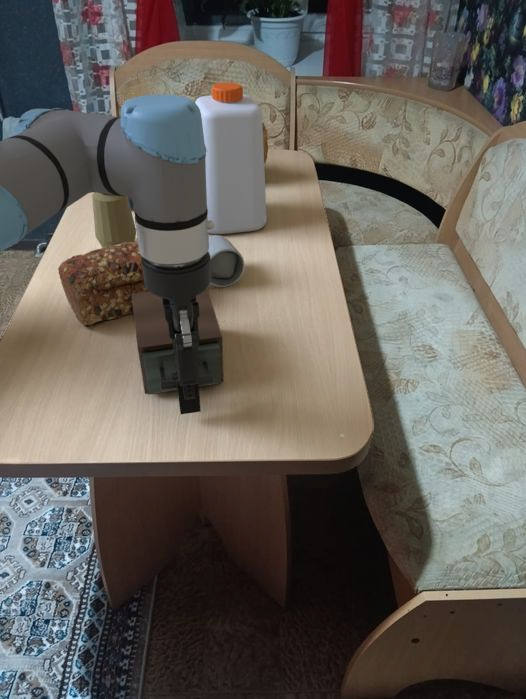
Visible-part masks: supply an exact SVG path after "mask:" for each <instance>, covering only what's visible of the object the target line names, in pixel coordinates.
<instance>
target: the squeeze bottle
mask: <svg viewBox="0 0 526 699" xmlns="http://www.w3.org/2000/svg"><path fill="white" fill-rule="evenodd" d="M91 197H92V211H93V222H94V234H95V238H96V239H97V241H98V244H99V245H100V246H101V249H102V248H105V247H109V246H113V245H116V244H120V243H125V242H126V243H127V242H136V241H135V240H136V237H137V231H136V224H135V219H134V217H133V212H132V209H131V208H130V204H129V200H128V196H116V195H110V194H103V193H97V192H92V196H91Z"/></svg>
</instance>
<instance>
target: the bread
mask: <svg viewBox="0 0 526 699" xmlns="http://www.w3.org/2000/svg"><path fill="white" fill-rule="evenodd" d="M141 258H142V255H141V254H140V252H139V246H138V241H134V242H127V243H126V242H125V243H120V244H116V245H113V246H109V247H105V248H102V247H101V248H98V249H95V250H90V251H88V252H86V253H83V254H77V255H73V256H72V257H69V258H67V259H66V260H63V261H62V262H61V263H60V264H59V265H58V268H57V270H58V275H59V279H60V283H61V287H62V289H63V291H64V294H65V296H66V300H67V302H68V304H69V305H70V308H71V309H72V312H73V313H74V314H75V317H76V318H77V320H78V321H79V323H80V324H81V326H93V325H95V323H97V322H103V321H107V320H110V321H111V320H114V319H117V318H121V317H124V316H127V315H131V314H134V312H133V304H132V295H131V293H140V292H148V290H147V289H146V287H145V284H144V278H143V271H142V264H141Z"/></svg>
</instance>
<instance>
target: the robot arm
mask: <svg viewBox="0 0 526 699" xmlns="http://www.w3.org/2000/svg"><path fill="white" fill-rule="evenodd" d="M205 157H206V146H205V144H204V135H203V126H202V117H201V112H200V109H199V107H198V106H197V104H196V103H195V101H193V100H192V99H190V98H189V97H187V96H181V95H177V94H145V95H138V96H135V97H131V98H129V99H127V100H126V101H124V102H123V104H122V106H121V108H120V116H114V115H105V114H98V113H89V112H83V111H77V110H71V109H68V108H65V109H64V108H62V107H53V108H32V109H30V110H27V111H26V112H24V113H22V115H21V116H20V119H19V121H18V123H17V124H15V125H14V127H13V130H12V135H11V136H10V137H7V138H4V139H3V140H0V253H1V252H3V251H5V250H6V249H9V248H11V247H13V246H16V245H17V244H19V243H20V242H21V240H22V239H23V238H24V237H25V236H27V235H29V233H31V232H32V231H34V230H35V229H37V228H38V227H40V226H41V225H43V224H44V223H46V222H47V221H48V220H50V219H51V218H52V217H54V216H56V215H57V214H59V213H61V212H63V211H64V210H66V209H67V208H69V207H70V206H71V205H73V204H75V203H77V201H79V200H81V199H82V198H84V197H85V196H86V195H88V194H91V193H92V194H93V193H94V192H97V193H103V194H110V195H116V196H128V197H131V198H132V201H133V206H134V208H133V212H134V224H135V228H136V238H137V242H138V246H139V252H140V254H141V255H142V258H141V264H142V271H143V278H144V284H145V287H146V289H147V290H148V291H149V292H150V293H152V294H153V295H155V296H158V297H161V298H162V302H163V307H164V314H165V319H166V321H167V325H168V330H169V336H170V338H171V339H172V342H173V355H174V357H175V363H174V364H175V367H176V369H177V372H176V373H174V374H171V375H172V382H174V381H177V388H178V390H177V396H178V405H179V406H178V407H179V413H180V415H187V414H194V413H199V412H200V413H201V411H202V409H201V398H200V387H199V383H200V376H199V366H201V363H200V359H199V352H198V346H199V340H200V337H199V335H198V333H199V331H198V317H199V315H200V314H199V304H198V301H197V302H196V295H198V294H200V293H202V292H204V291H205V290H206V289H208V288H209V287H210V286H211V284H210V283H211V261H210V254H209V252H208V250H209V236H210V235H209V234H210V233H208V232H207V230H211V229H213V228H214V223H213V221H212V220H208V216H207V215H208V209H207V193H206V162H205Z"/></svg>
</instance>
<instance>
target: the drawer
mask: <svg viewBox="0 0 526 699" xmlns="http://www.w3.org/2000/svg"><path fill="white" fill-rule="evenodd" d="M198 352H199V359H200V363H201V366H199V376H200V383H199V388H201V387H204V386H205V387H206V386H213V385H219V384H222V382H221V369H220V347H219V343H212V342H211V343H203V344H199V346H198ZM143 357H144V364H145V370H146V377H147V383H148V390H149V393H148V394H149V395H153V394H159V393H167V392H173V391H178V388H177V381H174V382H172V375H171V374H174V373H176V372H177V369H176V367H175V364H174V363H175V357H174V355H173V348H167V349H159V350H152V351H148V352H145V353H143Z"/></svg>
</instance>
